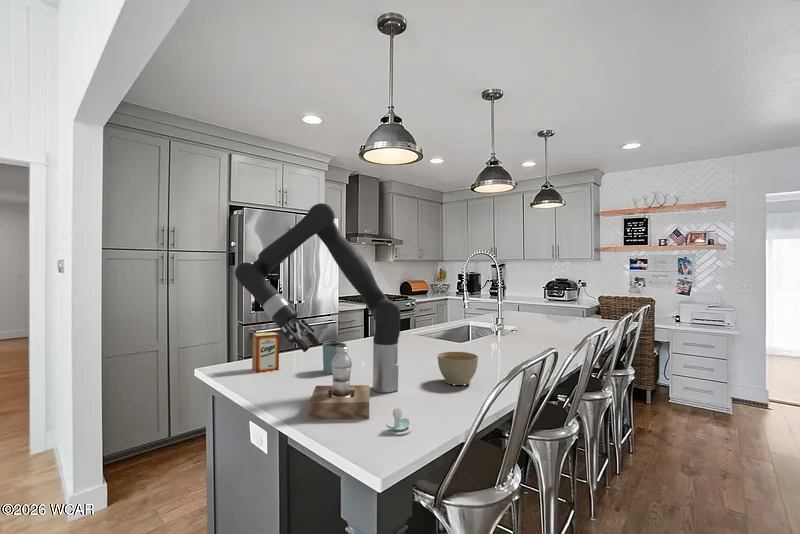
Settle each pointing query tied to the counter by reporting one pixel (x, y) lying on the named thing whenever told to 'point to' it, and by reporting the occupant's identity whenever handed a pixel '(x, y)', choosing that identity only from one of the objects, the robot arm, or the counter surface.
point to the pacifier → (399, 423)
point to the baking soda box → (265, 352)
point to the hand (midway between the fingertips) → (312, 347)
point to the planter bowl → (457, 366)
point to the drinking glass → (329, 355)
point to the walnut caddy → (339, 404)
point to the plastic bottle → (341, 372)
